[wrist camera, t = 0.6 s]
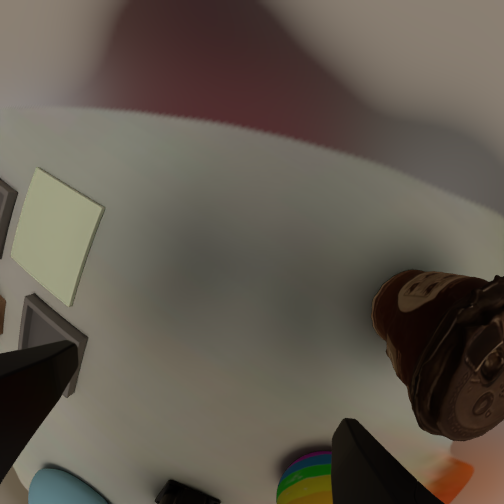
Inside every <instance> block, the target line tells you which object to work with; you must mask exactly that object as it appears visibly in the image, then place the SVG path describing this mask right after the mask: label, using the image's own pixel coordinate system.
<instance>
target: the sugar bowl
mask: <svg viewBox="0 0 504 504" xmlns="http://www.w3.org/2000/svg"><path fill="white" fill-rule="evenodd" d="M28 502H29V503H28V504H108V503H107V502H106V501H105V499H104V498H102V497H101V496H100V495H99V494H98V493H97V492H96V491H95V490H93V489H92V488H91V487H89V486H88V485H87V484H85V483H84V482H82V481H81V480H79V479H78V478H76V477H74V476H73V475H71V474H69V473H67V472H64V471H62V470H58V469H41V470H39V471H38V472H37V473H36V474H35V476H34V477H33V479H32V482H31V484H30V488H29V500H28Z"/></svg>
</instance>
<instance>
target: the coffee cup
mask: <svg viewBox="0 0 504 504" xmlns="http://www.w3.org/2000/svg"><path fill="white" fill-rule="evenodd" d="M371 319H372V321H373V328H374V329H375V331H376V333H377V334H378V335H379V336H380V337H381V338H382V339H384V340H385V341H386V342H387V349H386V354H387V356H388V357H389V358H390V359H391V362H392V365H393V368H394V370H395V372H396V375H397V376H398V377H399V379H400V380H401V381H402V382H403V383H404V384H405V385H406V386H407V389H408V396H409V399H410V402H411V405H412V410H413V412H414V414H415V417H416V420H417V423H418V425H419V427H420V428H421V429H422V430H424V431H427V432H429V433H430V434H433V435H441V436H445V437H447V438H449V439H451V440H453V441H466V440H470V439H473V438H476V437H479V436H482V435H484V434H485V433H486V432H488V431H489V430H491V429H492V428H494V427H495V426H496V425H498V424H499V423H500V422H501V421H503V420H504V276H503V277H500V276H499V275H496V276H495V277H494V280H493V281H491V282H488V281H486V280H484V279H480V278H476V277H469V276H464V275H457V274H449V273H443V272H435V271H432V272H424V271H420V270H408V271H404V272H401V273H399V274H397V275H395V276H393V277H392V278H391V279H390V280H389V281H387V282H386V283H384V284H383V285H382V286H381V289H380V290H379V292H378V293H377V294H376V296H375V297H374V299H373V301H372V314H371Z"/></svg>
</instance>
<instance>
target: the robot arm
mask: <svg viewBox="0 0 504 504" xmlns="http://www.w3.org/2000/svg"><path fill="white" fill-rule="evenodd" d="M78 365H79V359H78V346H77V344H76V343H74V342H72V341H70V340H62V341H57V342H53V343H48V344H44V345H39V346H35V347H30V348H25V349H21V350H16V351H11V352H6V353H1V354H0V484H1V482H2V480H3V479H4V477H5V476H6V474H7V473H8V471H9V470H10V468H11V467H12V465H13V464H14V462H15V461H16V459H17V458H18V456H19V455H20V453H21V452H22V450H23V449H24V448H25V446H26V445H27V443H28V442H29V440H30V439H31V438H32V436H33V435H34V433H35V432H36V431H37V429H38V428H39V426H40V425H41V424H42V422H43V421H44V419H45V418H46V417H47V415H48V414H49V413H50V411H51V410H52V409H53V407H54V406H55V405H56V403H57V402H58V400H59V399H60V397H61V396H62V394H63V392H64V391H65V389H66V387H67V385H68V384H69V382H70V380H71V379H72V377H73V375H74V374H75V372H76V370H77V368H78ZM331 486H332V499H333V504H444V503H443V502H442V501H441V500H439V499H438V498H437V497H435V496H434V495H433V494H432V493H431V492H430V491H429V490H427V489H426V488H425V487H424V486H423V485H422V484H421V483H420V482H419V481H417V479H416V478H415V477H414V476H413V475H411V474H410V473H409V472H408V471H407V470H406V469H405V468H404V467H403V466H402V465H401V464H400V463H399V462H398V461H397V460H396V459H395V458H394V457H393V456H392V455H391V454H390V453H389V452H388V451H387V450H386V449H385V448H384V447H383V446H382V445H381V444H380V443H379V442H378V441H377V440H376V439H375V438H374V437H373V436H372V435H371V434H370V433H369V432H368V431H367V430H366V429H365V428H364V427H363V426H362V425H361V424H360V423H359V422H358V421H357V420H356V419H351V418H344V419H343V420H342V421H341V423H340V424H339V426H338V428H337V429H336V431H335V433H334V435H333V438H332V459H331ZM155 502H156V503H157V504H220V503H221V502H220V501H219V500H217V499H214V498H212V497H209V496H207V495H204V494H202V493H199V492H197V491H195V490H192V489H190V488H188V487H186V486H183V485H181V484H179V483H177V482H175V481H173V480H169V481H168V482H167V484H166V485H165V486H164V488H163V489H162V491H161V492H160V493H159V495H158V496H157V498H156V499H155Z"/></svg>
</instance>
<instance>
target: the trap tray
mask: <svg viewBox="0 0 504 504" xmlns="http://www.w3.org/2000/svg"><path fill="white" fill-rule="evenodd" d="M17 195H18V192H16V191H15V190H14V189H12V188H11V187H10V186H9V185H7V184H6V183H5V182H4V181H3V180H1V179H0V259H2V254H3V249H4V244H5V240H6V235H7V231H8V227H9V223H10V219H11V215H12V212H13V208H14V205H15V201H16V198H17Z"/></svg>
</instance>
